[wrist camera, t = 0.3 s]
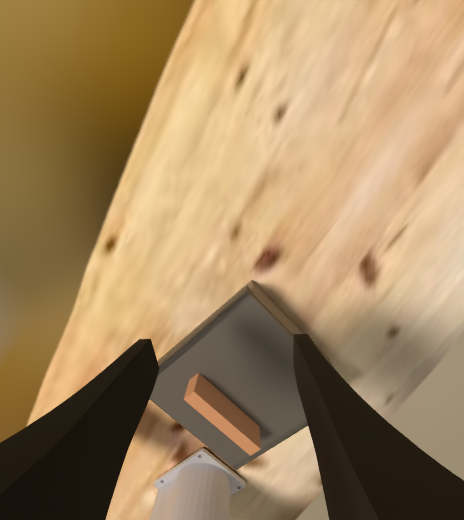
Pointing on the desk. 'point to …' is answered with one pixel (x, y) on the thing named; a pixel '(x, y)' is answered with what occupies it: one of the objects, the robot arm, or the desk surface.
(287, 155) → the desk surface
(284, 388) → the lid
